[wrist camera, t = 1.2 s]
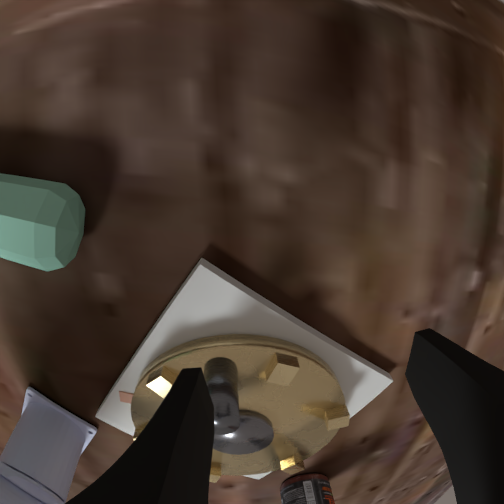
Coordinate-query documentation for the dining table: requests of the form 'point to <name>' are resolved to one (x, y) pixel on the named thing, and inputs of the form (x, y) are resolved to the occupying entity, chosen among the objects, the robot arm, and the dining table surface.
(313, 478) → the supplement bottle
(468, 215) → the dining table surface
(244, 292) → the dial plate
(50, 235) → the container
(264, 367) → the brass round disc
